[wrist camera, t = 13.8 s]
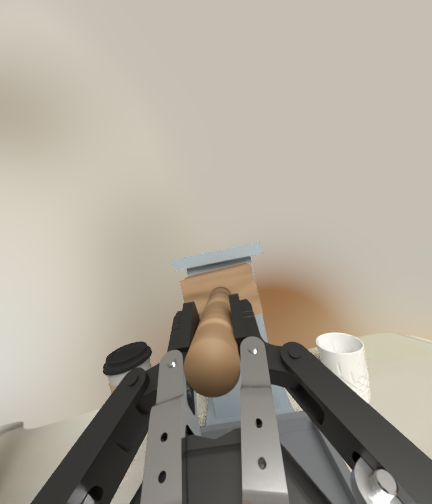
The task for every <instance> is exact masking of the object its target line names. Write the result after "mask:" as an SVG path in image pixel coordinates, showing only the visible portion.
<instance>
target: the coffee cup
mask: <svg viewBox="0 0 432 504" xmlns="http://www.w3.org/2000/svg"><path fill="white" fill-rule="evenodd" d="M151 353H152V351H151V348H150V347H149V346H147V344H146V343H145V342H135V343H131V344H128V345H125V346H123V347H120V348H118V349H117V350H115V351H113V352H112V353H111V354H109V355H108V356H107V358H106V363H105V364H104V366H103V369H104V370H103V373H104V374H105V375H107V377H108V380H109V386H110V389H111V392H112V393H113V391H114V390H115V389H116V387H117V386H118V385H119V383H120V382H121V381H122V379H123V378H124V376H125V375H126V374H127V373H128V372H129V371H131V370H132V369H134V368H138V367H140V368H143V369H144V370H145V371H146V370H148V369H150V368H151V364H150V356H151Z"/></svg>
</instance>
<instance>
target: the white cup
mask: <svg viewBox="0 0 432 504" xmlns="http://www.w3.org/2000/svg"><path fill="white" fill-rule="evenodd" d="M316 344H317V348H318V352H319V356H320V360H321V362H322V363H323V364H324V365H325V366H326V367H327V368H328V369H330V370H331V371H332V372H333V373H334V374H335V375H336V376H337V377H339V378H340V379H341V380H342V381H343V382H344V383H345V384H347V385H348V386H349V387H350V388H351V389H352V390H353V391H354V392H356V393H357V394H358V395H359V396H360V397H361V398H362V399H363V400H365V401H366V402H367V403H368V404H369V402H370V400H371V393H370V387H369V376H368V368H367V361H366V355H365V349H364V343H363V342H362V341H361V340H360V339H359V338H357V337H355V336H352V335H349V334H344V333H327V334H323V335H320V336H319V337H317V339H316Z"/></svg>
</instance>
